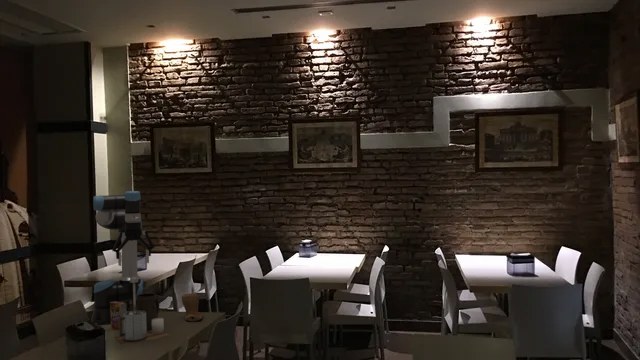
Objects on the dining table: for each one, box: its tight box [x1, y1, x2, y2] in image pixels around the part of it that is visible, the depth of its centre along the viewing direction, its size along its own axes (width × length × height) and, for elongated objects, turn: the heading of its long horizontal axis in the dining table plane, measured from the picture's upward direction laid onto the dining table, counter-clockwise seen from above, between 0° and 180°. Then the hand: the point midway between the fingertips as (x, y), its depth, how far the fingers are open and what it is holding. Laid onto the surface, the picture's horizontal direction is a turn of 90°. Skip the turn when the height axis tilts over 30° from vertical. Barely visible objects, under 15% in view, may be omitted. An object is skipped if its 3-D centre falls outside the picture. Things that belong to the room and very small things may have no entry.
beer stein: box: [136, 293, 160, 332], centre depth 301 cm, size 15×11×20 cm
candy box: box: [110, 301, 128, 331], centre depth 302 cm, size 9×4×15 cm, turn 57°
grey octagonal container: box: [118, 309, 148, 343], centre depth 279 cm, size 11×13×13 cm
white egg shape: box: [151, 317, 165, 334], centre depth 290 cm, size 6×6×7 cm
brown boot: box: [181, 292, 203, 322], centre depth 323 cm, size 15×12×15 cm
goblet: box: [130, 277, 138, 315], centre depth 280 cm, size 8×8×20 cm
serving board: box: [114, 330, 172, 346], centre depth 283 cm, size 16×24×2 cm, turn 122°
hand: (133, 264), depth 280 cm, fingers open, 13 cm apart
